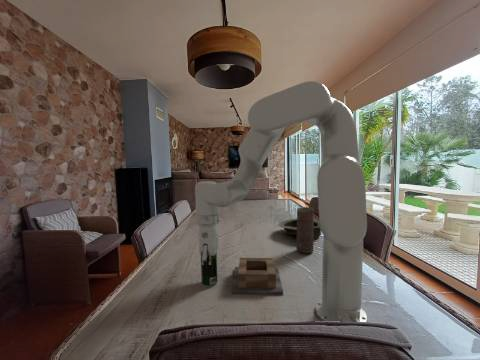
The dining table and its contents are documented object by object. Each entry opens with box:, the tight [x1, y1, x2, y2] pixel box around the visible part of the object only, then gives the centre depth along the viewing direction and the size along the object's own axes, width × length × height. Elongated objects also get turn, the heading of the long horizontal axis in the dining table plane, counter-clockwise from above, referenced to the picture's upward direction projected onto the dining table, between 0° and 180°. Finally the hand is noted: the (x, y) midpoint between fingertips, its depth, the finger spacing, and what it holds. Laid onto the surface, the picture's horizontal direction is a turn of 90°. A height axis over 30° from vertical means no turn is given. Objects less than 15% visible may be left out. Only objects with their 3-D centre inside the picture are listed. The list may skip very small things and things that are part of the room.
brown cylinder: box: [295, 206, 315, 254], centre depth 103 cm, size 8×7×20 cm
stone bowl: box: [277, 217, 322, 240], centre depth 126 cm, size 25×25×9 cm
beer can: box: [200, 251, 218, 288], centre depth 78 cm, size 5×5×12 cm
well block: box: [231, 257, 284, 296], centre depth 80 cm, size 16×16×6 cm
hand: (209, 270), depth 78 cm, fingers open, 5 cm apart
